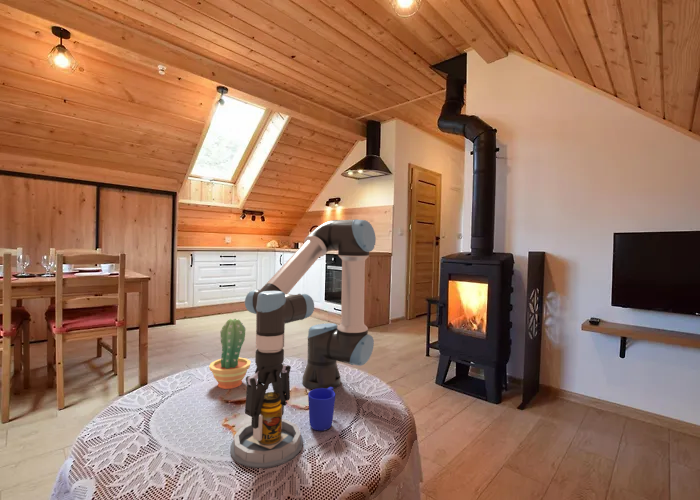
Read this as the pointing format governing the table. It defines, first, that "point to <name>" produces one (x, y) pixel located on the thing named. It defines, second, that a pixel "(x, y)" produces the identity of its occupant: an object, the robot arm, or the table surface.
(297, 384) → the table surface
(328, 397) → the mug
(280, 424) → the condiment
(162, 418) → the table surface
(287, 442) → the bowl
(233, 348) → the potted cactus
